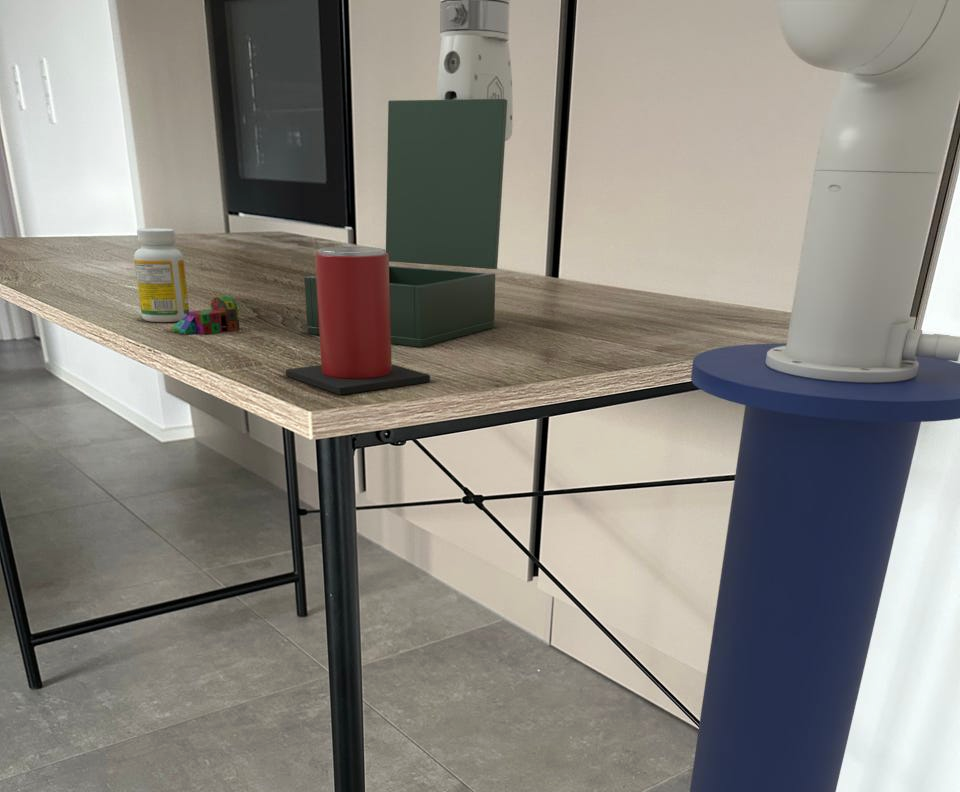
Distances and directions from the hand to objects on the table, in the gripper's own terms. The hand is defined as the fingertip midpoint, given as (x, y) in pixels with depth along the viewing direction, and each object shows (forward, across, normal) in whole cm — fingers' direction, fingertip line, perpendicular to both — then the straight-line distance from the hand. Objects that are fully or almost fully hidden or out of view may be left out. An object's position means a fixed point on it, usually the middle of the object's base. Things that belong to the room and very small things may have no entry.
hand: (472, 208), depth 111 cm
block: (+12, -28, +18) cm, 35 cm away
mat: (+12, -39, -11) cm, 43 cm away
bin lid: (-3, -7, 0) cm, 8 cm away
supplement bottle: (+12, -24, +27) cm, 38 cm away
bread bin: (+12, -15, 0) cm, 19 cm away
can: (+11, -39, -11) cm, 42 cm away
